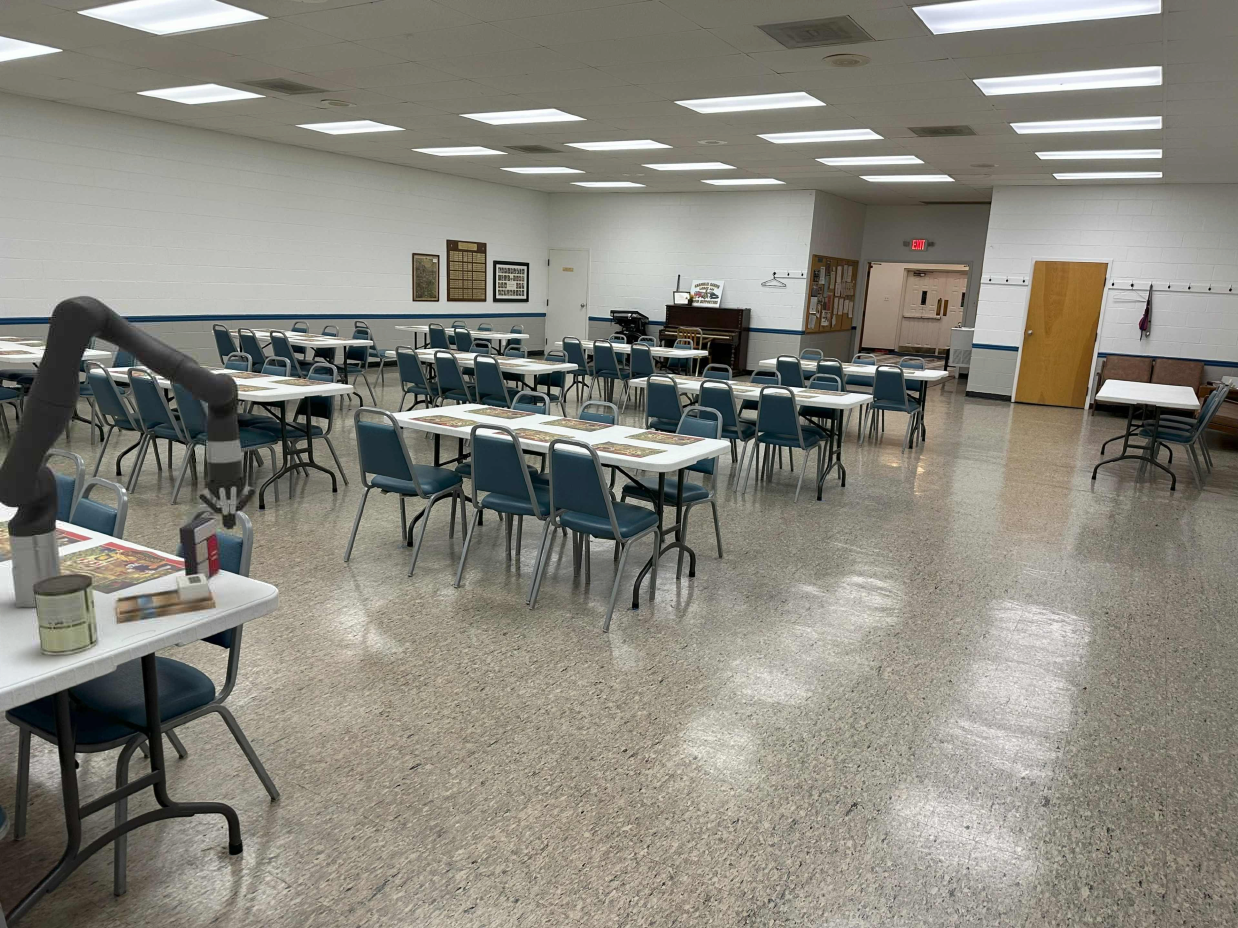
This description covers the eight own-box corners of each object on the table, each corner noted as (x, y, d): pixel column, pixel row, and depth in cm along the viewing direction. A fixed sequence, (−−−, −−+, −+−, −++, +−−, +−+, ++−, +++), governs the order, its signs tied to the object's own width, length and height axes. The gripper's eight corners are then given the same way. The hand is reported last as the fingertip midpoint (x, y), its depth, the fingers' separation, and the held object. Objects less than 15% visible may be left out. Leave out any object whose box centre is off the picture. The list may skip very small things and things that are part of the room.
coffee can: (33, 646, 176) (25, 582, 173) (88, 631, 184) (81, 570, 181) (50, 660, 170) (42, 594, 167) (106, 645, 178) (100, 581, 175)
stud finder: (181, 603, 197) (179, 586, 196) (177, 592, 204) (176, 576, 203) (209, 599, 200) (208, 582, 200) (205, 588, 207) (203, 573, 206)
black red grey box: (200, 585, 214) (195, 528, 211) (183, 584, 214) (178, 528, 211) (221, 571, 225) (217, 517, 222) (205, 570, 225) (201, 516, 222)
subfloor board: (117, 623, 189) (116, 613, 189) (115, 606, 199) (114, 596, 199) (215, 607, 200) (214, 598, 199) (209, 591, 210) (208, 583, 209)
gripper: (195, 463, 194) (201, 536, 197) (256, 458, 201) (261, 528, 204) (191, 458, 200) (197, 528, 203) (251, 453, 207) (256, 521, 210)
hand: (229, 528), depth 204 cm, fingers closed
